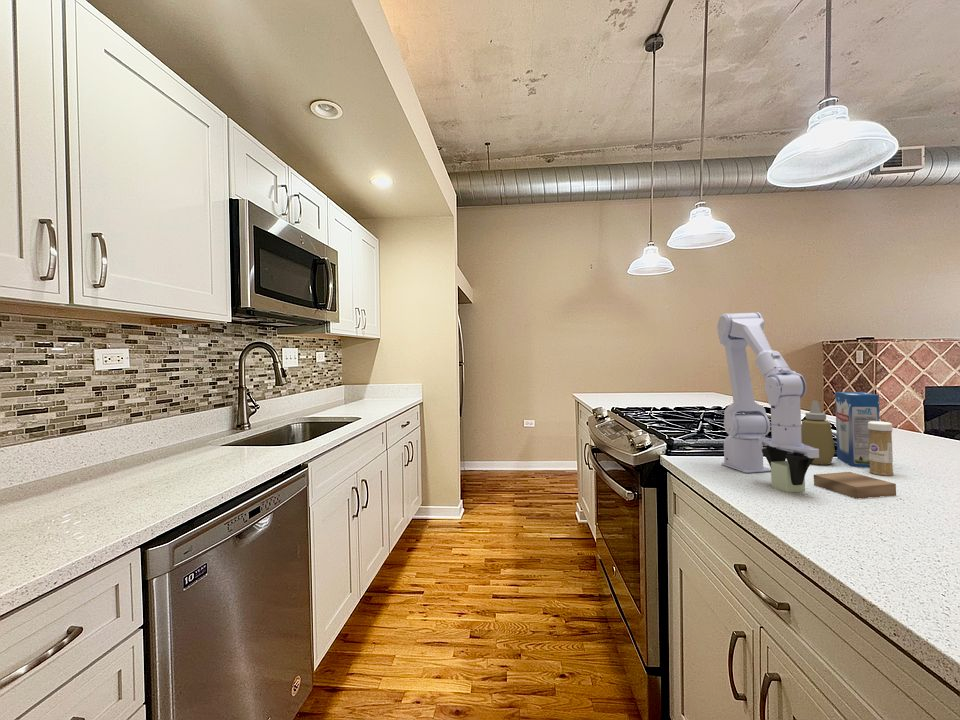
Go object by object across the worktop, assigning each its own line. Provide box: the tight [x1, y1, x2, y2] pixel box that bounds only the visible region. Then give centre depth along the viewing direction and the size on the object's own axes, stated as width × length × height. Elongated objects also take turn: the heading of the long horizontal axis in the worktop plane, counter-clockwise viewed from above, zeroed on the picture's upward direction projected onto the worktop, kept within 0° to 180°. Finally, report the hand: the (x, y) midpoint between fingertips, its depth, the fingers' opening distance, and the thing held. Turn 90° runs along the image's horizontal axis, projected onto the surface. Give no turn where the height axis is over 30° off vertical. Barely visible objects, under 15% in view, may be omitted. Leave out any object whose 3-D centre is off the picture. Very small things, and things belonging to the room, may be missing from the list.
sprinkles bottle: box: [868, 420, 894, 477], centre depth 106 cm, size 5×5×13 cm
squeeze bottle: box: [801, 400, 836, 466], centre depth 118 cm, size 8×8×18 cm
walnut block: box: [813, 471, 897, 500], centre depth 95 cm, size 10×10×3 cm
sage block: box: [770, 460, 806, 493], centre depth 97 cm, size 4×4×6 cm
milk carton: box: [834, 391, 881, 469], centre depth 117 cm, size 10×6×20 cm, turn 157°
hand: (787, 481), depth 97 cm, fingers closed on sage block, 4 cm apart
